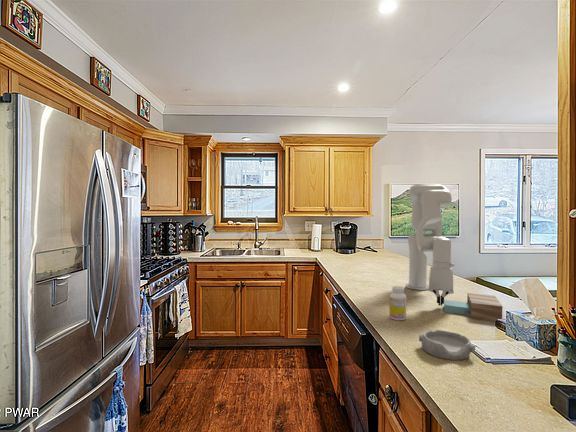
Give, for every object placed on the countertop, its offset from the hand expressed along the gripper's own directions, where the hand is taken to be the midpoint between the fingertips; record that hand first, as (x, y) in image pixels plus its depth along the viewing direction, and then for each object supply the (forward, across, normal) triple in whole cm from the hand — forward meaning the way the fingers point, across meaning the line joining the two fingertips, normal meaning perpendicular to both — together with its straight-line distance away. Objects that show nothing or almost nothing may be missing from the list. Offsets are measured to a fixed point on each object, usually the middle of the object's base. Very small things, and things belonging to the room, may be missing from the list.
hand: (440, 304), depth 149 cm
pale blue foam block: (+2, -8, 0) cm, 8 cm away
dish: (+2, -1, +49) cm, 49 cm away
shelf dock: (+2, -17, 0) cm, 17 cm away
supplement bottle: (+2, +16, +23) cm, 28 cm away
